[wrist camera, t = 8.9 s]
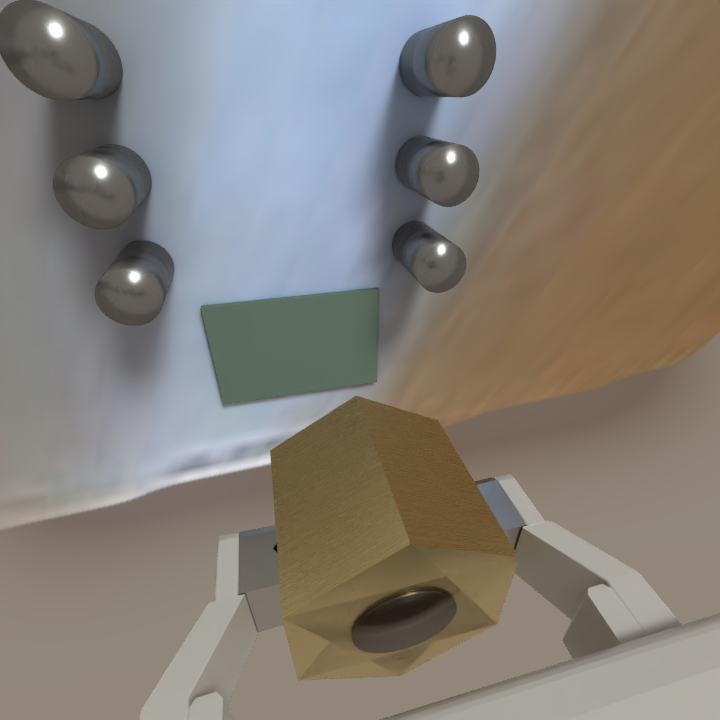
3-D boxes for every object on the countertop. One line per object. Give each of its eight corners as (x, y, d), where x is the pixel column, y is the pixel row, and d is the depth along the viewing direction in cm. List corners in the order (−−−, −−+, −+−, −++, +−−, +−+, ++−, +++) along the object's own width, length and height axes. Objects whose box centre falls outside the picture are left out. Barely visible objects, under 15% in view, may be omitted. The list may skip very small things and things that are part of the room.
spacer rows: (128, 290, 25) (106, 328, 21) (37, 18, 18) (-22, -3, 14) (431, 262, 29) (462, 290, 25) (453, 30, 22) (501, 16, 18)
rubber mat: (223, 401, 31) (223, 404, 31) (201, 306, 27) (200, 308, 27) (375, 379, 34) (376, 381, 33) (377, 287, 29) (378, 290, 29)
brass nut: (288, 542, 14) (304, 707, 10) (262, 411, 11) (272, 580, 7) (427, 511, 15) (490, 652, 11) (442, 381, 12) (536, 518, 8)
